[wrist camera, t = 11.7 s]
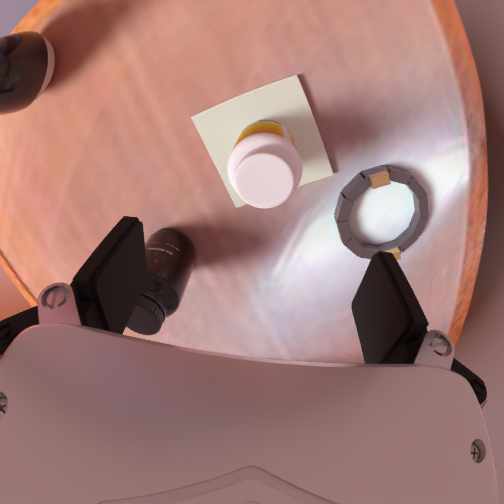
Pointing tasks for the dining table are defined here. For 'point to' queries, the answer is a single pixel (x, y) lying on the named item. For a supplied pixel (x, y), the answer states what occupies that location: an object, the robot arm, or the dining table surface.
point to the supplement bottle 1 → (163, 280)
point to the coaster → (264, 108)
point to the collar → (375, 179)
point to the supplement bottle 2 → (265, 164)
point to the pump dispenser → (24, 69)
